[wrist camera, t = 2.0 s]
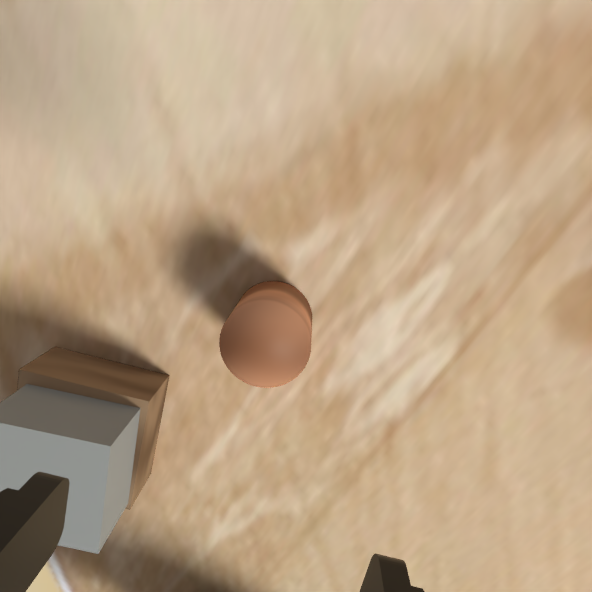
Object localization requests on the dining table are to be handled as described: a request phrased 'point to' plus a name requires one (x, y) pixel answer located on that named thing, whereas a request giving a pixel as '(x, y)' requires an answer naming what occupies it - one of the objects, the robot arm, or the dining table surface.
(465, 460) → the dining table surface
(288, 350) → the tan cylinder
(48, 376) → the tower base
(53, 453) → the tower top
